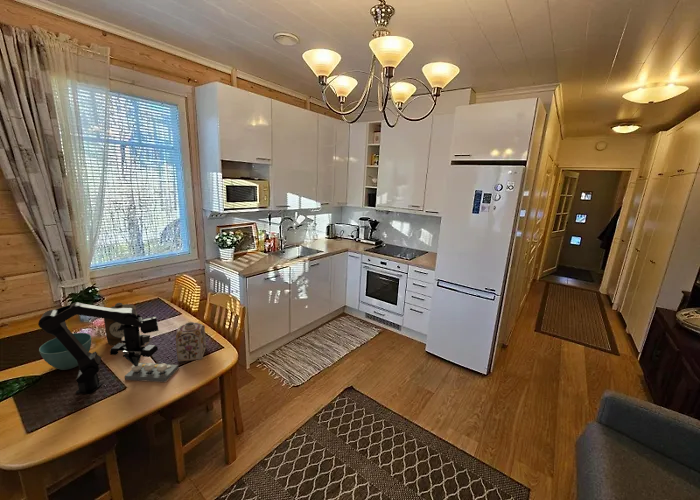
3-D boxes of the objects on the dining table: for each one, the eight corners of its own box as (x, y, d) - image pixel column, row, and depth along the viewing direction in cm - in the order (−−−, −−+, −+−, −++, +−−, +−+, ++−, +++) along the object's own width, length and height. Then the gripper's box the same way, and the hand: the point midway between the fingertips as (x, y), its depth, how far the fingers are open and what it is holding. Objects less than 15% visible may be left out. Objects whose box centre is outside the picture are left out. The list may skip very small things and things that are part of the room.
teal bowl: (101, 361, 149) (97, 339, 146) (52, 382, 134) (47, 358, 131) (86, 350, 158) (82, 329, 155) (38, 367, 142) (33, 345, 140)
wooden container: (114, 348, 160) (108, 311, 155) (102, 340, 167) (96, 304, 162) (144, 337, 172) (140, 302, 167) (132, 329, 180) (127, 295, 174)
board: (165, 382, 137) (165, 378, 136) (125, 379, 137) (124, 375, 137) (178, 368, 146) (178, 364, 146) (140, 366, 147) (140, 362, 146)
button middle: (151, 374, 138) (150, 368, 137) (142, 374, 138) (141, 367, 137) (156, 369, 142) (156, 362, 141) (148, 368, 142) (147, 362, 141)
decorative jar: (177, 362, 151) (173, 330, 147) (183, 349, 162) (180, 319, 158) (202, 359, 154) (200, 328, 150) (207, 347, 165) (204, 317, 161)
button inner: (138, 375, 138) (137, 368, 137) (130, 374, 138) (129, 368, 137) (144, 369, 142) (143, 363, 141) (136, 369, 142) (135, 362, 141)
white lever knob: (163, 375, 138) (163, 368, 137) (155, 374, 138) (154, 368, 137) (169, 370, 142) (168, 363, 141) (161, 369, 142) (160, 363, 141)
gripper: (163, 328, 143) (167, 356, 147) (125, 326, 144) (130, 354, 147) (147, 340, 132) (151, 371, 136) (106, 338, 133) (111, 368, 136)
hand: (136, 365), depth 139 cm, fingers closed, pressing on button inner
